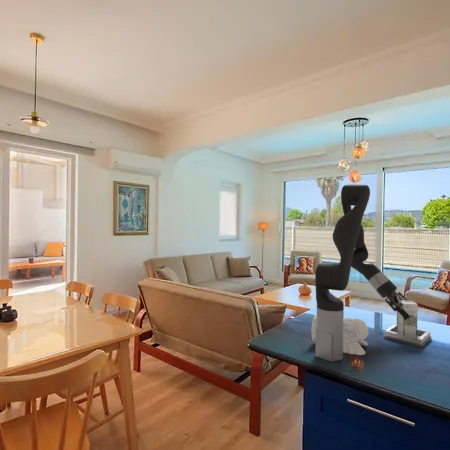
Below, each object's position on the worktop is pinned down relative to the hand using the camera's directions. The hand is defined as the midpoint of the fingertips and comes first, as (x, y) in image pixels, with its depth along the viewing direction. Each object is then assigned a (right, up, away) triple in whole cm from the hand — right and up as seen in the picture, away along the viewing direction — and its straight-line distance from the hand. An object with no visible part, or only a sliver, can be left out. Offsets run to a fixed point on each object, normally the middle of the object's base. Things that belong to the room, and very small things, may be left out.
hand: (411, 316), depth 127 cm
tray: (-1, -10, +1) cm, 10 cm away
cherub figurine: (-33, -10, -8) cm, 35 cm away
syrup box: (-1, -9, +1) cm, 9 cm away
